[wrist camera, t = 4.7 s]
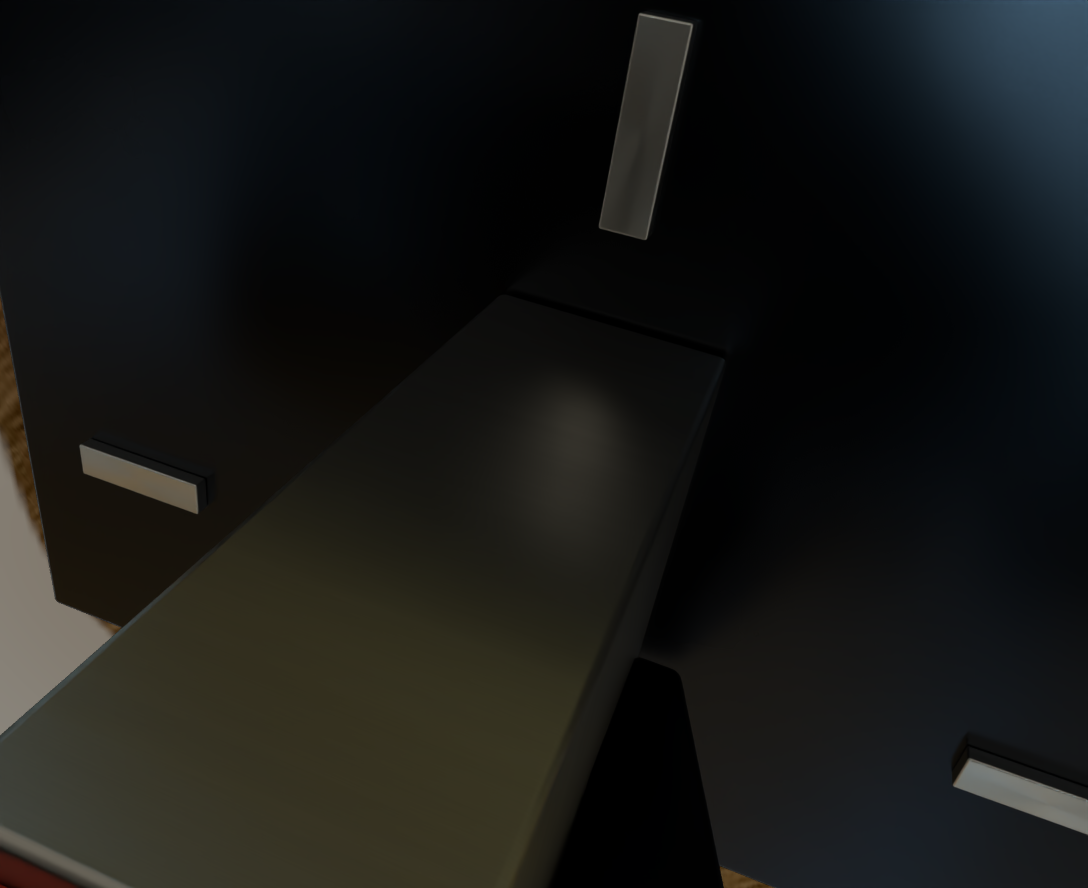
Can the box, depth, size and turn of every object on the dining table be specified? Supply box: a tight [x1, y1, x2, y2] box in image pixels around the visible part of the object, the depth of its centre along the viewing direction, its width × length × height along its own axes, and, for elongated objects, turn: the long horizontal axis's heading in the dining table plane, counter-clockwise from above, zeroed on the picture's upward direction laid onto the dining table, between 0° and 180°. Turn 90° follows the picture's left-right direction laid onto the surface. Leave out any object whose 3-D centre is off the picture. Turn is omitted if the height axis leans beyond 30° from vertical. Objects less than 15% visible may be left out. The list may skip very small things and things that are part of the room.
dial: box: [0, 295, 726, 888], centre depth 6 cm, size 6×2×5 cm, turn 170°
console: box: [0, 0, 1088, 888], centre depth 9 cm, size 12×12×3 cm
